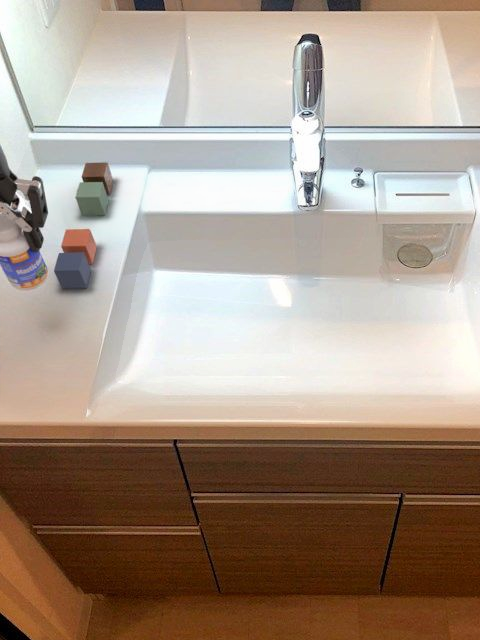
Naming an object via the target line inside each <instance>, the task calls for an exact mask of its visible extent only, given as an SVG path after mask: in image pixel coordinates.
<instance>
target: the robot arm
mask: <svg viewBox="0 0 480 640" xmlns="http://www.w3.org/2000/svg"><path fill="white" fill-rule="evenodd" d="M17 191H20V192H21V193H22V194H23V196H24V198H23V197H22V196H21V194H19V193H18V192H17ZM46 198H47V197H46V193H45V186H44V182H43V179H42V178H41V177H40V176H37V175H34V176H32V178H31V180H29V179H24V178H23V179H22V178H18V176H17V174H15V173H14V172H13V171H12V170H11V168H10V167H9V163H8V160H7V156H6V154H5V152H4V150H3V148H2V146H1V144H0V213H3V214H4V215H5V216H6V217H7V218H8V219H9V220H10V221H15V222H16V223H17V224H18V225H19V226H20V227H21V228H22V229H23V234H24V236H25V238H26V240H27V242H28V244H29V246H30V248H31V250H32V252H39V251H40V250H41V249H42V247H43V244H44V241H45V238H44V235H43V233H42V230H41V229H42V228H44V227H45V224H46V221H47V218H48V215H49V209H48V204H47V203H48V202H47V199H46ZM25 200H26V201H29V206H30V207H29V206H28V205H27V204H26V201H25Z"/></svg>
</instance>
